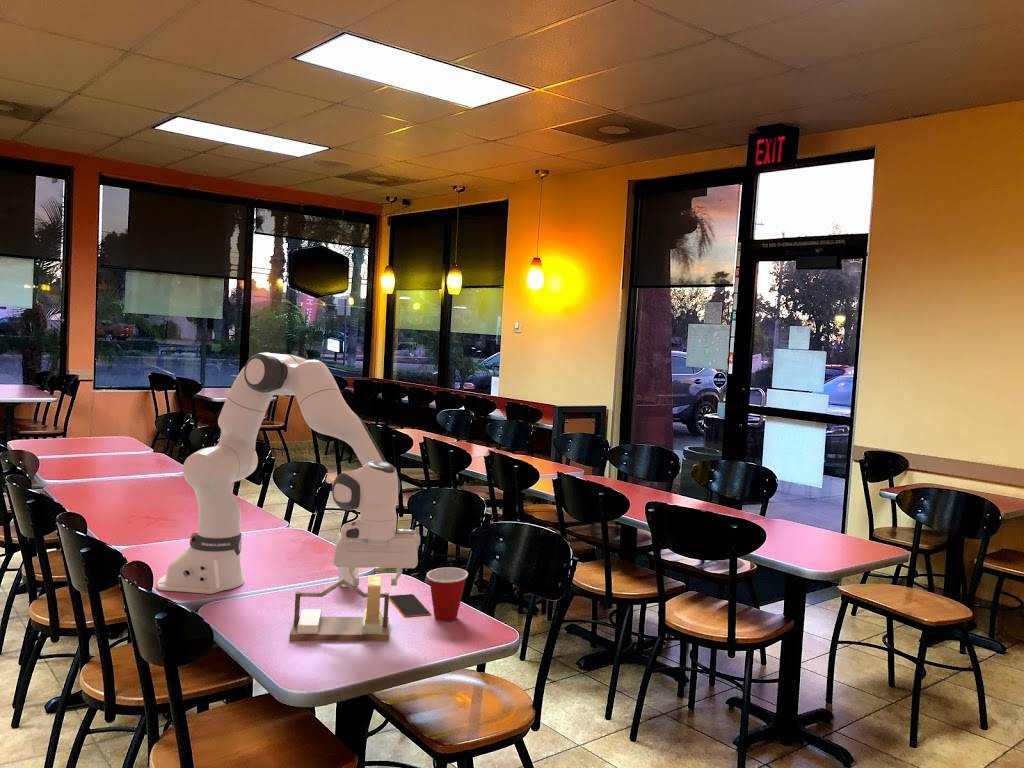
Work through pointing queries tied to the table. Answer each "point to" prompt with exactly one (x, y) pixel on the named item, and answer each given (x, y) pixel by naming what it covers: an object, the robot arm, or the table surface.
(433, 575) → the plastic cup
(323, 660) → the table surface
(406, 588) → the table surface
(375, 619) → the yellow upright block
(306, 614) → the block
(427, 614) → the smartphone
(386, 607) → the buzz wire
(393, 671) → the table surface
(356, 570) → the white cylinder
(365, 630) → the end block
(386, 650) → the table surface
